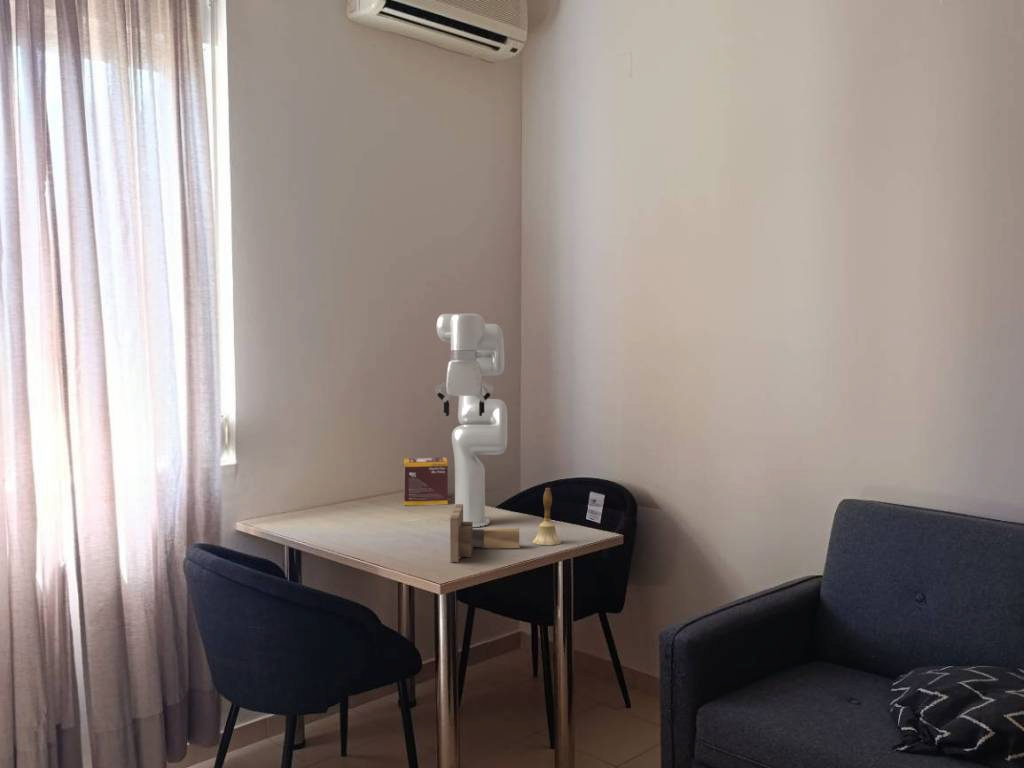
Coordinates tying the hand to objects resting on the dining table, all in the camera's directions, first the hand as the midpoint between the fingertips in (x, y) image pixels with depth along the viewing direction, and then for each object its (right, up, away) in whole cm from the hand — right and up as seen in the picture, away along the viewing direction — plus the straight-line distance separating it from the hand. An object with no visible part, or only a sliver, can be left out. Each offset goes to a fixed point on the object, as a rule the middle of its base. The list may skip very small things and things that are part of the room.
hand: (464, 415), depth 273 cm
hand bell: (+24, -37, 0) cm, 44 cm away
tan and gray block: (+9, -37, -6) cm, 39 cm away
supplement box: (-17, -34, +63) cm, 73 cm away
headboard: (+1, -38, -14) cm, 40 cm away
